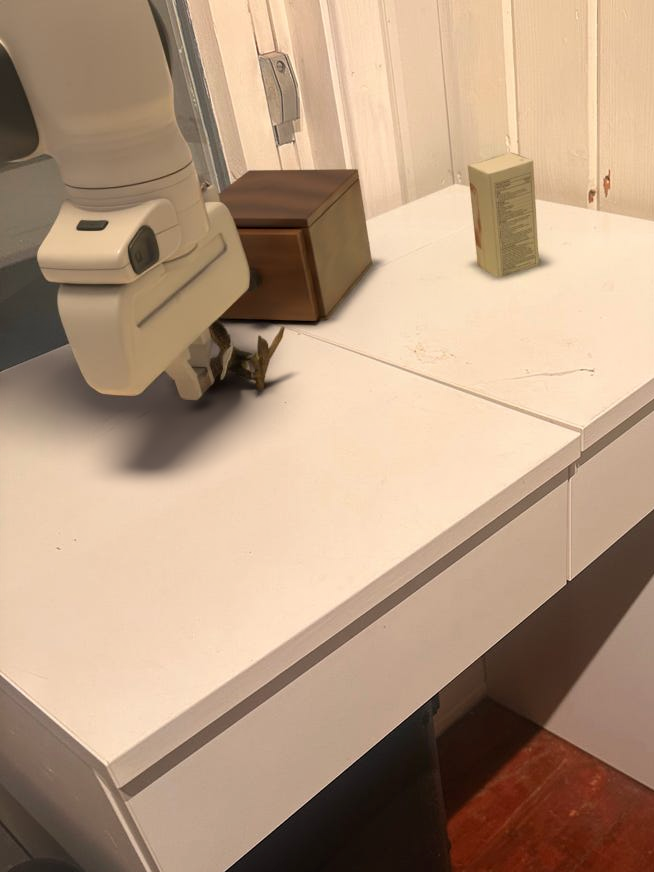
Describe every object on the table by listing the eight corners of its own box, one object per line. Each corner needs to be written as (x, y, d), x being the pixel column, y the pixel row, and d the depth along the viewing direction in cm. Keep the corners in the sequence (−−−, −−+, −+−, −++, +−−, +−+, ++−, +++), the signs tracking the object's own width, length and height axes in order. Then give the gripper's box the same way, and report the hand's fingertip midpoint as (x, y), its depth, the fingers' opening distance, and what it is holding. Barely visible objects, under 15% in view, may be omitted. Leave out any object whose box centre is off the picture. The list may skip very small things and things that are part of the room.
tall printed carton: (517, 256, 94) (512, 150, 87) (540, 269, 91) (537, 159, 84) (473, 270, 92) (465, 162, 86) (496, 283, 90) (489, 172, 83)
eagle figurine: (303, 352, 79) (220, 320, 81) (270, 305, 72) (179, 271, 74) (262, 429, 78) (178, 394, 80) (224, 388, 71) (134, 351, 73)
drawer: (310, 326, 83) (292, 239, 78) (207, 323, 86) (183, 238, 80) (359, 268, 93) (345, 186, 87) (265, 266, 95) (247, 187, 90)
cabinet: (327, 325, 85) (306, 218, 79) (215, 321, 88) (186, 218, 81) (373, 268, 95) (358, 168, 88) (271, 266, 97) (248, 170, 91)
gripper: (172, 167, 72) (219, 334, 82) (19, 267, 58) (98, 455, 68) (244, 166, 71) (284, 336, 80) (106, 268, 57) (174, 460, 66)
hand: (198, 391), depth 74 cm, fingers closed
